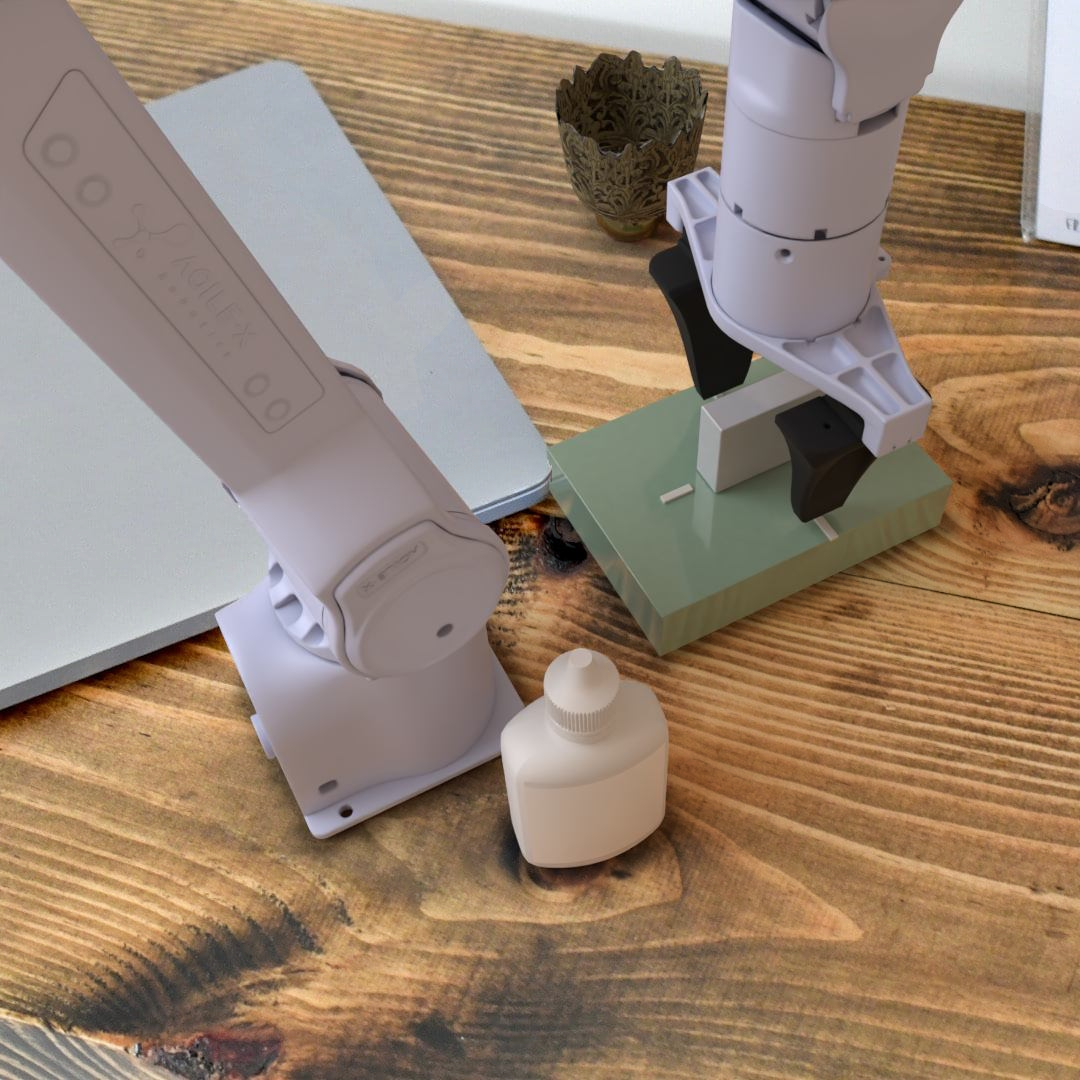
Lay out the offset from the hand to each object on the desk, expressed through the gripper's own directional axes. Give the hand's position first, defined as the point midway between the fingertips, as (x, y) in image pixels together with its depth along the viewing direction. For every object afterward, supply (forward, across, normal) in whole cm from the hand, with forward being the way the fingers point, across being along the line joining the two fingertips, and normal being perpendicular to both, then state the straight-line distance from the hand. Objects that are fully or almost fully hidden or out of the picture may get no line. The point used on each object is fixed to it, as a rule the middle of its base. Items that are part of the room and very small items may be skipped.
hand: (767, 445), depth 55 cm
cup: (+4, +19, -4) cm, 20 cm away
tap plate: (+4, 0, +1) cm, 4 cm away
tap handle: (+1, 0, 0) cm, 1 cm away
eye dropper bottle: (+4, -10, +14) cm, 18 cm away
